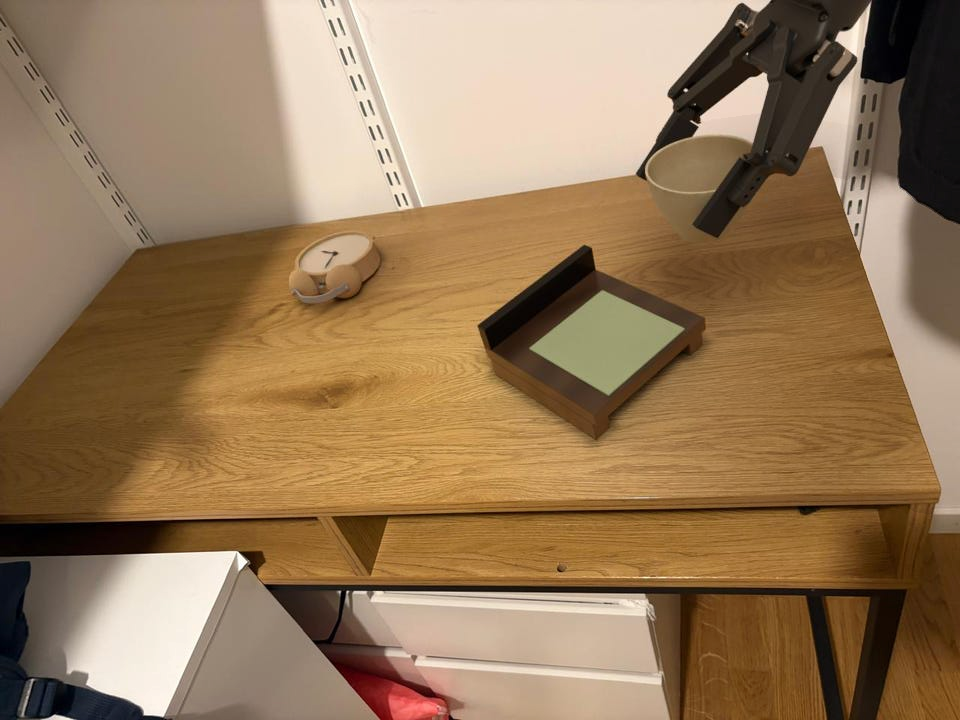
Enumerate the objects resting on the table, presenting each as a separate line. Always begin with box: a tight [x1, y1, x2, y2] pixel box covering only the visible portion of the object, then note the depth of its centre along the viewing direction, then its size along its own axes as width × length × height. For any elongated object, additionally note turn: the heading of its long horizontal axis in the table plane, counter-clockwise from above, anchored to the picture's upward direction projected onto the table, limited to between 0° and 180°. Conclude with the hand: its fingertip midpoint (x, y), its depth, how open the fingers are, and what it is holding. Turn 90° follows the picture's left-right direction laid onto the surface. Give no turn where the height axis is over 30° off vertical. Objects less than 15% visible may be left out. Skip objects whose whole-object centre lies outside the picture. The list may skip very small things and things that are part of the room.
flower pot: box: [645, 134, 753, 245], centre depth 68 cm, size 10×10×7 cm
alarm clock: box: [288, 229, 381, 305], centre depth 101 cm, size 11×5×15 cm
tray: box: [476, 244, 707, 440], centre depth 76 cm, size 16×16×7 cm
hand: (674, 204), depth 68 cm, fingers closed on flower pot, 10 cm apart
